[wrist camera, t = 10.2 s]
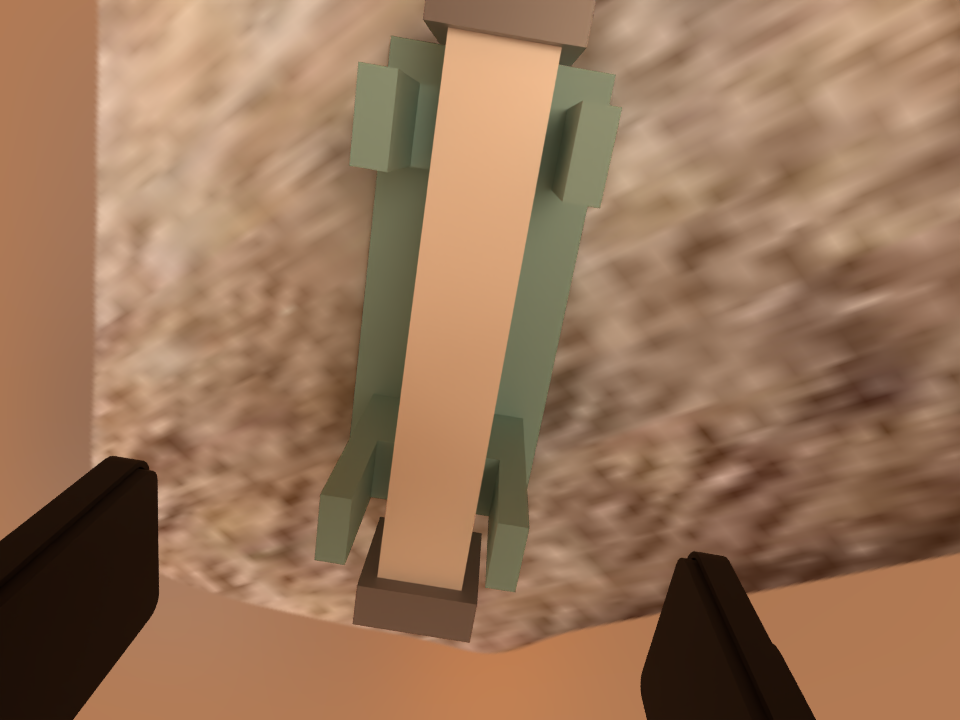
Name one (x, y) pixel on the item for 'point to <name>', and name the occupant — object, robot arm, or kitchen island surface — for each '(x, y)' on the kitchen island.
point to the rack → (392, 273)
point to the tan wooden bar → (464, 302)
